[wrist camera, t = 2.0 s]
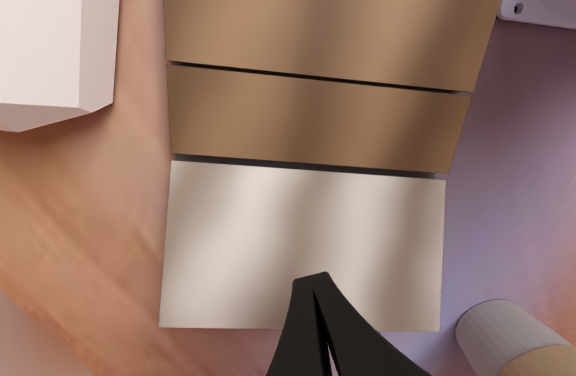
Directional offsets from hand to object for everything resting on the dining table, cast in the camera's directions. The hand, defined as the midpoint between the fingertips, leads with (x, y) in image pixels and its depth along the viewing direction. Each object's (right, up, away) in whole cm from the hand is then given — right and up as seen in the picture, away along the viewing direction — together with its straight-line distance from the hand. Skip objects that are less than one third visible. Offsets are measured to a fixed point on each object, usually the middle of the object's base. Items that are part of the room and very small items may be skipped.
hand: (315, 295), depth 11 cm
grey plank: (0, +1, +7) cm, 7 cm away
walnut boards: (+1, +10, +5) cm, 11 cm away
